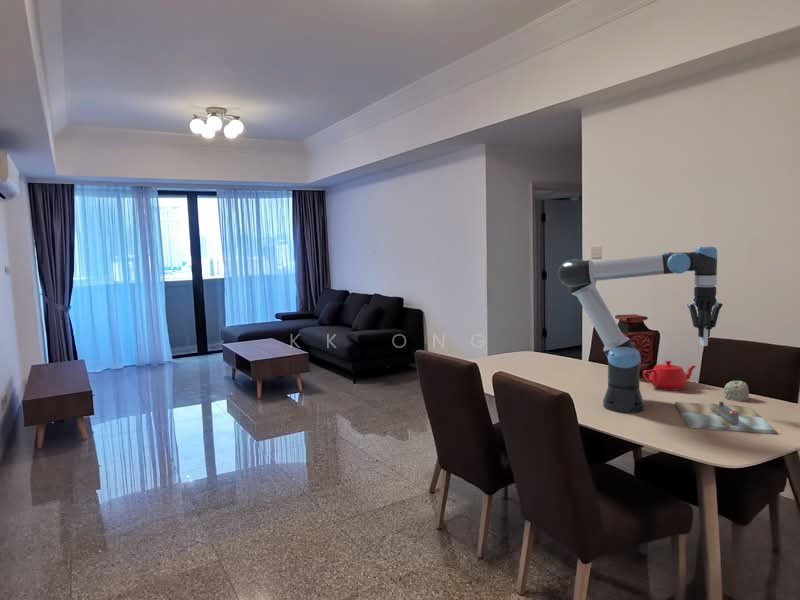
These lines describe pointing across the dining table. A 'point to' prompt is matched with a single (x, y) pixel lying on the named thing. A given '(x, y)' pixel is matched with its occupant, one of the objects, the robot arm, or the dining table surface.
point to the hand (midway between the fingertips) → (703, 345)
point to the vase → (638, 337)
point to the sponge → (736, 391)
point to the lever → (729, 414)
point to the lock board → (710, 418)
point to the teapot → (668, 376)
